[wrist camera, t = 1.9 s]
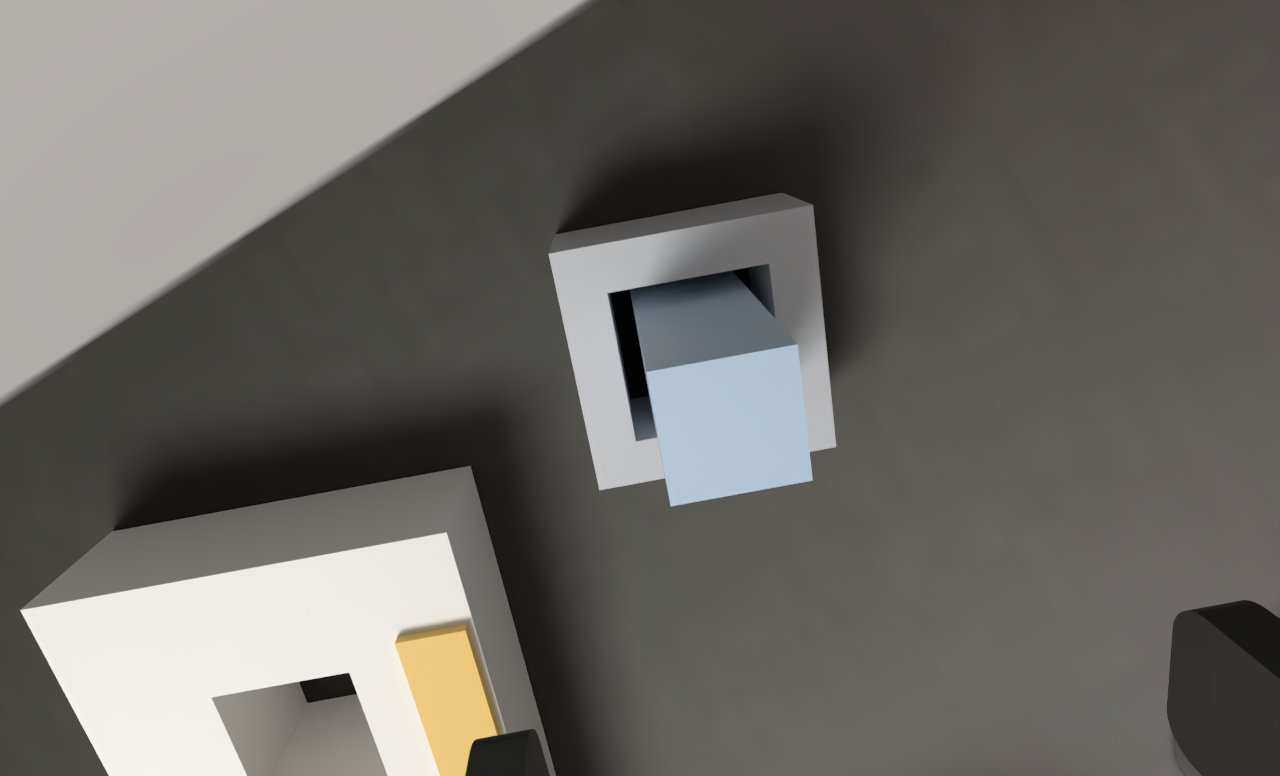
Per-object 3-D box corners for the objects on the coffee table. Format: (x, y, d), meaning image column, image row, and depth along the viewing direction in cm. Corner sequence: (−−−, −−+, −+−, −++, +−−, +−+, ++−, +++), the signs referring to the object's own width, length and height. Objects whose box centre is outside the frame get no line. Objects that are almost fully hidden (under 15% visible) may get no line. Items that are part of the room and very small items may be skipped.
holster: (782, 192, 27) (813, 205, 23) (805, 404, 29) (836, 446, 26) (555, 234, 27) (548, 253, 23) (598, 442, 29) (599, 490, 26)
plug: (728, 266, 27) (797, 344, 18) (740, 360, 29) (812, 480, 19) (628, 284, 27) (646, 371, 18) (645, 378, 29) (670, 506, 19)
